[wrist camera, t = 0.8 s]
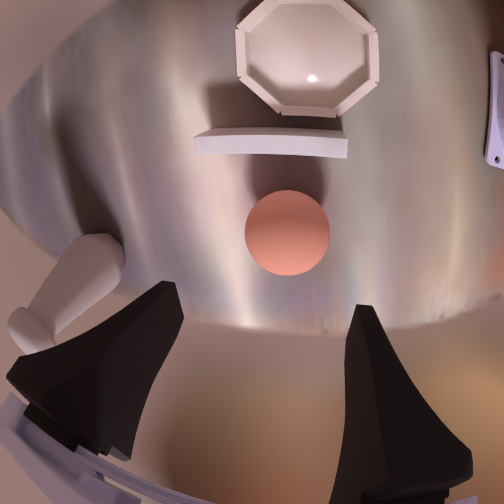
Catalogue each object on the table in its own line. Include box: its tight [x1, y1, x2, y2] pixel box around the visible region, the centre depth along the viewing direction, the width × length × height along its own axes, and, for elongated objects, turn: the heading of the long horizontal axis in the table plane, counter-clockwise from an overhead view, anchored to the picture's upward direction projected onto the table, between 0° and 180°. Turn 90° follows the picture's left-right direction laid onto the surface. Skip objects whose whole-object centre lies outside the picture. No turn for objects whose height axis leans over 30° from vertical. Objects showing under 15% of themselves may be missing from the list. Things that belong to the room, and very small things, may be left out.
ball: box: [245, 190, 330, 275], centre depth 17 cm, size 5×5×5 cm
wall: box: [193, 127, 348, 159], centre depth 15 cm, size 8×1×3 cm, turn 93°
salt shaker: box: [8, 233, 125, 355], centre depth 19 cm, size 6×6×13 cm
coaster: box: [235, 0, 379, 118], centre depth 12 cm, size 8×8×1 cm
